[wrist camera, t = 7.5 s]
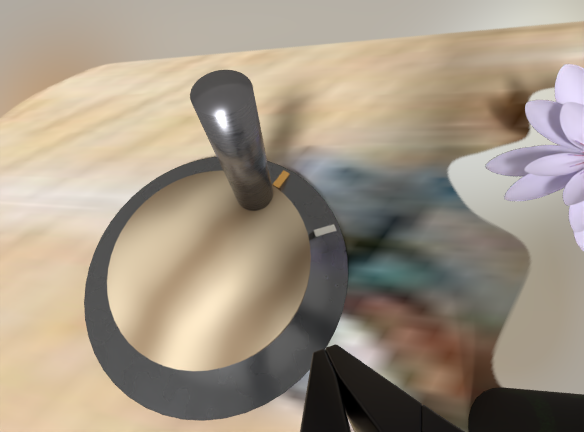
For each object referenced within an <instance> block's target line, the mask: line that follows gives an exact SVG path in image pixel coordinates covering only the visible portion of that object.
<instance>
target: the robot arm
mask: <svg viewBox="0 0 584 432" xmlns="http://www.w3.org/2000/svg"><path fill="white" fill-rule="evenodd" d="M347 417H348V418H347ZM348 419H349V421H350V423H351V425H352V427H353V429H354V431H355V432H465V431H463V430H461V429H460V428H458V427H456V426H455V425H453V424H452V423H450V422H449V421H447V420H446V419H444V418H443V417H441V416H440V415H438V414H436V413H435V412H434V411H432V410H431V409H429V408H428V407H426V406H425V405H423V406H422V404H421V403H420V402H419V401H417V400H416V399H414V398H413V397H411V396H410V395H408V394H407V393H406V392H404V391H403V390H401V389H400V388H398V387H397V386H396V385H394V384H393V383H391V382H390V381H388V380H387V379H385V378H384V377H383V376H381V375H380V374H378V373H377V372H375V371H374V370H373V369H371V368H370V367H368V366H367V365H365V364H364V363H362V362H361V361H360V360H358V359H357V358H355V357H354V356H352V355H351V354H350V353H348V352H347V351H345V350H344V349H342V348H341V347H339V346H338V345H333V346H330V347H327V348H326V349H321V350H318V351H315V352H314V353H313V356H312V362H311V368H310V374H309V380H308V386H307V393H306V399H305V405H304V411H303V417H302V423H301V430H300V432H351V430H350V426H349V422H348Z"/></svg>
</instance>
